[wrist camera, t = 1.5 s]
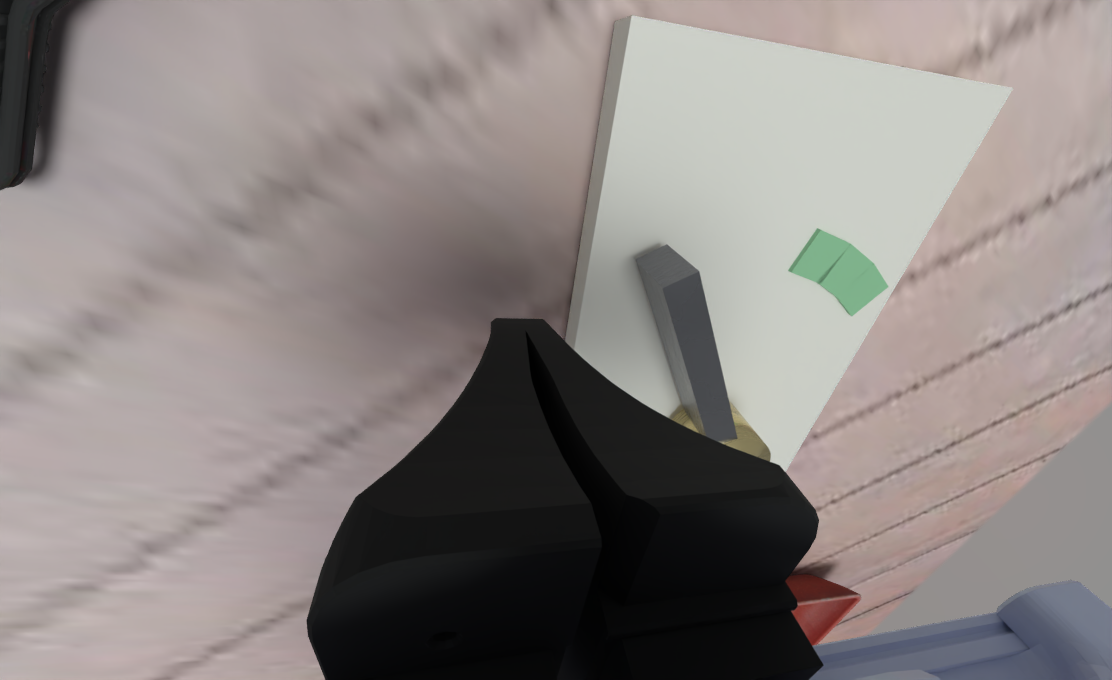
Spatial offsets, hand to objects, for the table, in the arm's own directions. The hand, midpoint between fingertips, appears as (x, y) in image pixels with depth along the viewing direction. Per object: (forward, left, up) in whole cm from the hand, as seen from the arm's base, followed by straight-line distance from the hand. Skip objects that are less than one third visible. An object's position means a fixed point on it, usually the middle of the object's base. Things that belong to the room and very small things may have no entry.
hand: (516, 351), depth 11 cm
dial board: (-2, -10, -6) cm, 12 cm away
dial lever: (-4, -8, -4) cm, 10 cm away
